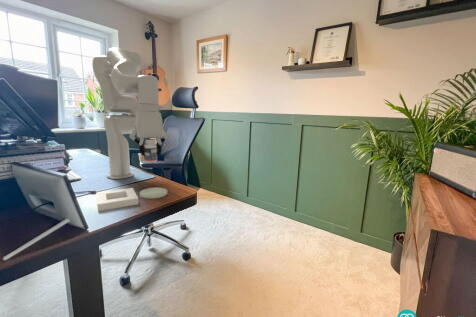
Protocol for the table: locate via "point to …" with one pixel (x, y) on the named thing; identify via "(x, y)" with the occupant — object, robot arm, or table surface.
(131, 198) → the pocket holder
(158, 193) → the coaster
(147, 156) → the pill bottle
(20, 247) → the table surface
